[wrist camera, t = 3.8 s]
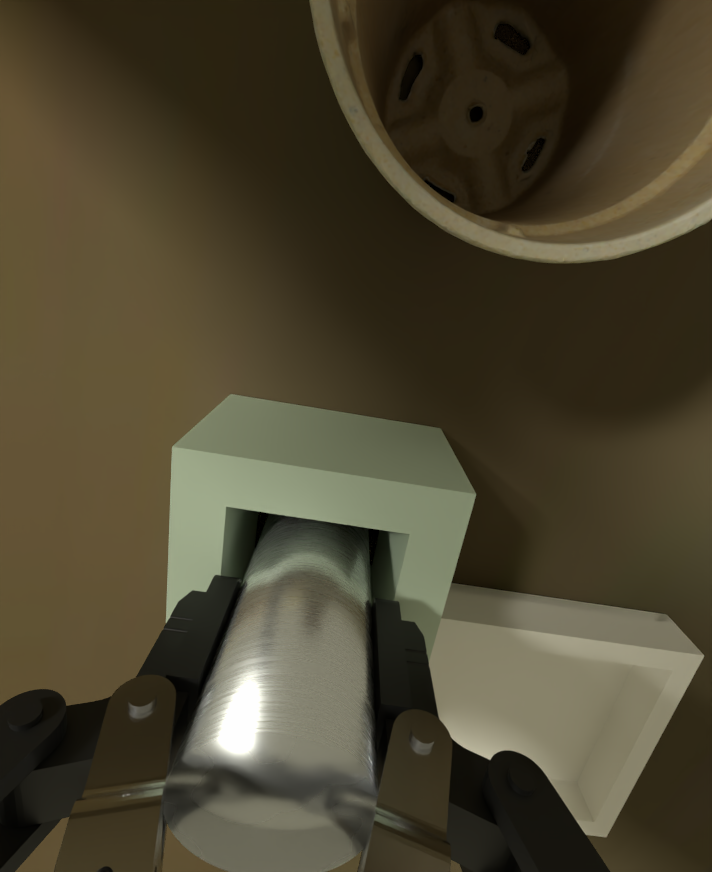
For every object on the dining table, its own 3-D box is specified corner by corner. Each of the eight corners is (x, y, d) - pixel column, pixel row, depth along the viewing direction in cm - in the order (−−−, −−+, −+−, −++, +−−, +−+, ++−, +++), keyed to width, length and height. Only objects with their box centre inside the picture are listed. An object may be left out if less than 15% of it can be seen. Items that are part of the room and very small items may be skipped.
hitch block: (217, 572, 21) (163, 682, 15) (230, 394, 18) (172, 446, 12) (399, 598, 21) (413, 714, 16) (440, 428, 18) (476, 494, 13)
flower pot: (652, -58, 13) (1105, -577, 5) (585, 276, 17) (806, 275, 8) (337, -75, 13) (304, -628, 5) (330, 264, 16) (301, 251, 8)
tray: (373, 758, 25) (375, 809, 22) (419, 578, 21) (427, 616, 19) (583, 785, 25) (606, 837, 23) (666, 614, 21) (704, 655, 19)
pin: (271, 537, 20) (159, 866, 9) (281, 455, 19) (164, 720, 8) (359, 550, 20) (359, 889, 9) (375, 470, 19) (398, 750, 8)
